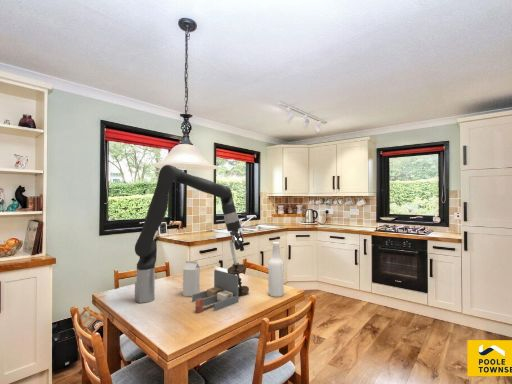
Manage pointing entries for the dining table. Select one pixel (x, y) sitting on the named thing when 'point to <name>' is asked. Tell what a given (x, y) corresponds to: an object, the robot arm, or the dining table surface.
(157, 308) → the dining table surface
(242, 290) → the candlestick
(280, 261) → the alcohol
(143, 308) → the dining table surface
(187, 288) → the milk carton
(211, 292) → the walnut block
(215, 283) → the lane rack
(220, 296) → the corded block
